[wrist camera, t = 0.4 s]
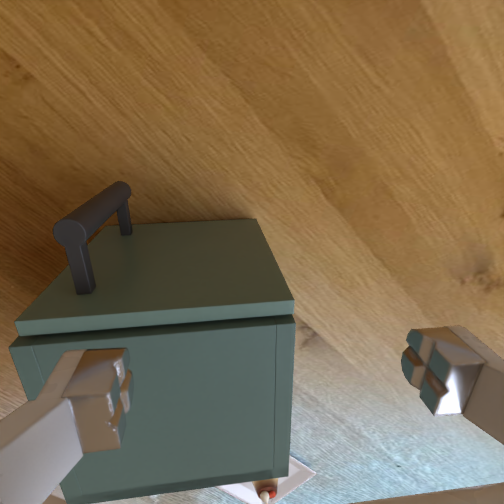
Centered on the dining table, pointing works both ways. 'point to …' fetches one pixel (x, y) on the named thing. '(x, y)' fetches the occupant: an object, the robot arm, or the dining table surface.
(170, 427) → the housing
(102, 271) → the door
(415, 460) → the dining table surface
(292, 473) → the dessert
